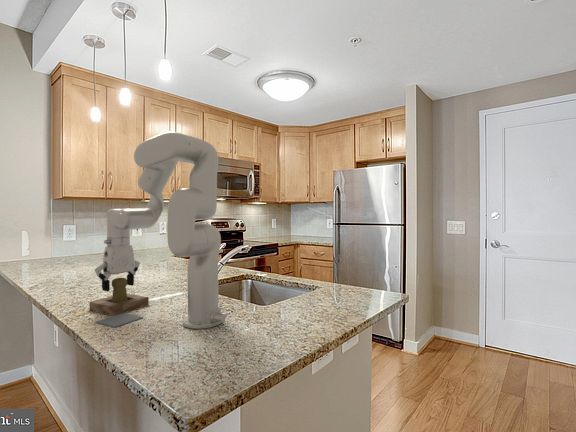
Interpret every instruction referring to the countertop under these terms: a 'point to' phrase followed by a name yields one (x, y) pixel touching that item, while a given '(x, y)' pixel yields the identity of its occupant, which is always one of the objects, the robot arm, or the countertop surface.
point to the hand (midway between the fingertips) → (118, 287)
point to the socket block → (118, 305)
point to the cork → (119, 290)
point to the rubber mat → (119, 320)
